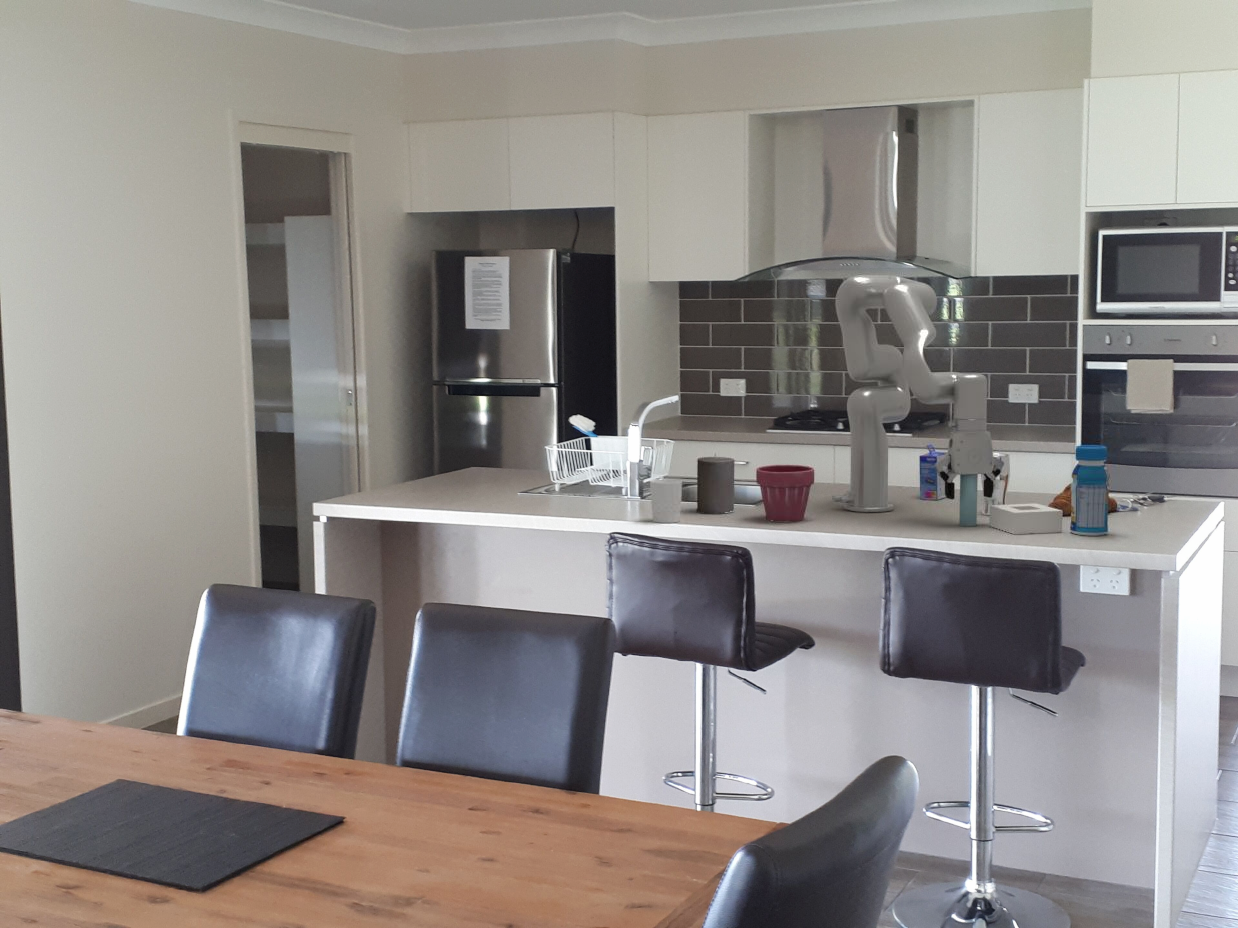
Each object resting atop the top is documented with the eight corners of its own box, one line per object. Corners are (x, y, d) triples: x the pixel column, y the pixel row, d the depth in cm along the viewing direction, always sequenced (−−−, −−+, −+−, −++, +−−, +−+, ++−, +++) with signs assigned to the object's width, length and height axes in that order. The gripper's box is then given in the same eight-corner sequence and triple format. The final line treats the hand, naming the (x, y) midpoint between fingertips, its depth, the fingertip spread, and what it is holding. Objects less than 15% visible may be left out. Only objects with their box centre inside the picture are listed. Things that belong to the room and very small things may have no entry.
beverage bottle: (1087, 537, 300) (1090, 449, 297) (1061, 532, 307) (1063, 445, 305) (1116, 534, 303) (1119, 447, 301) (1089, 529, 311) (1092, 443, 308)
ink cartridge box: (930, 494, 370) (931, 443, 369) (950, 496, 367) (950, 443, 366) (918, 499, 362) (918, 446, 360) (937, 500, 359) (938, 447, 357)
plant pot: (780, 525, 321) (780, 472, 319) (744, 518, 333) (744, 467, 331) (825, 520, 328) (826, 468, 327) (789, 513, 340) (789, 463, 339)
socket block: (1013, 534, 305) (1014, 512, 304) (989, 526, 316) (989, 505, 316) (1062, 532, 307) (1062, 510, 306) (1035, 524, 319) (1036, 503, 318)
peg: (963, 526, 316) (965, 468, 315) (956, 524, 320) (957, 466, 318) (979, 525, 317) (980, 467, 315) (971, 523, 321) (973, 465, 319)
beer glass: (1010, 516, 331) (1011, 456, 329) (981, 515, 332) (982, 456, 330) (1007, 512, 338) (1009, 453, 336) (979, 511, 339) (980, 453, 337)
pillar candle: (689, 511, 344) (689, 454, 342) (712, 507, 351) (713, 450, 349) (718, 515, 338) (718, 457, 336) (742, 511, 345) (742, 453, 343)
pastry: (1055, 507, 347) (1056, 476, 346) (1118, 510, 340) (1119, 479, 339) (1045, 516, 332) (1046, 484, 331) (1111, 520, 325) (1112, 487, 324)
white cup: (648, 519, 333) (648, 479, 332) (680, 518, 334) (679, 478, 333) (652, 524, 325) (652, 483, 324) (684, 523, 326) (684, 482, 325)
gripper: (942, 428, 310) (941, 501, 312) (1011, 426, 314) (1010, 498, 316) (929, 426, 318) (928, 497, 320) (996, 423, 321) (995, 494, 323)
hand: (969, 497), depth 318 cm, fingers open, 9 cm apart
